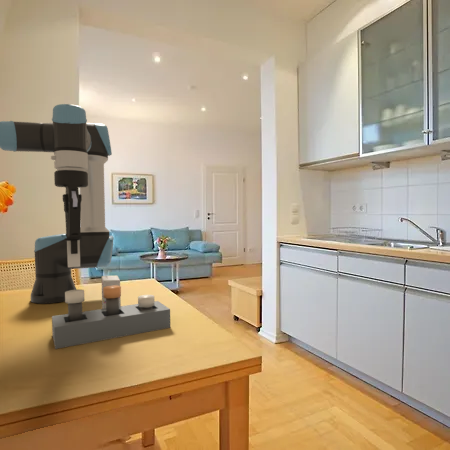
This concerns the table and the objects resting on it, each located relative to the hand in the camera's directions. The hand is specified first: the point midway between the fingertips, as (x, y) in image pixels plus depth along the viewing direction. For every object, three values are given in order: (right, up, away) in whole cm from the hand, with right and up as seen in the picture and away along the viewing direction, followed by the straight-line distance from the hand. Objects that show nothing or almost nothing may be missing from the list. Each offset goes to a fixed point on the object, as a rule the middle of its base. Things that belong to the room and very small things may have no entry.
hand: (74, 266), depth 86 cm
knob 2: (+16, -17, +10) cm, 25 cm away
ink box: (+3, -17, +18) cm, 26 cm away
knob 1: (0, -14, +1) cm, 14 cm away
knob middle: (+8, -14, +5) cm, 17 cm away
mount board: (+8, -18, +5) cm, 20 cm away
